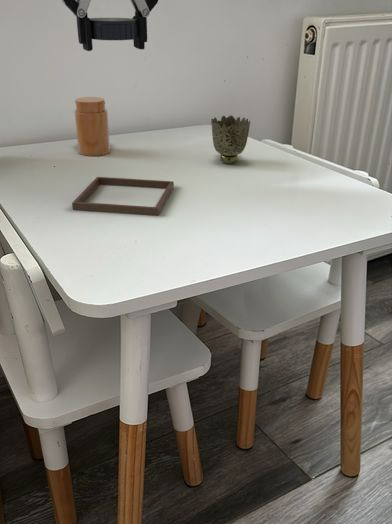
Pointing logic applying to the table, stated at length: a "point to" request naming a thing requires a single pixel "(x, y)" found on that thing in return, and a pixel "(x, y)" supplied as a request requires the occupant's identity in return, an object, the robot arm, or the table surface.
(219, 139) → the cup
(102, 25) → the lid
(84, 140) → the jar
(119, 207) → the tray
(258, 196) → the table surface
